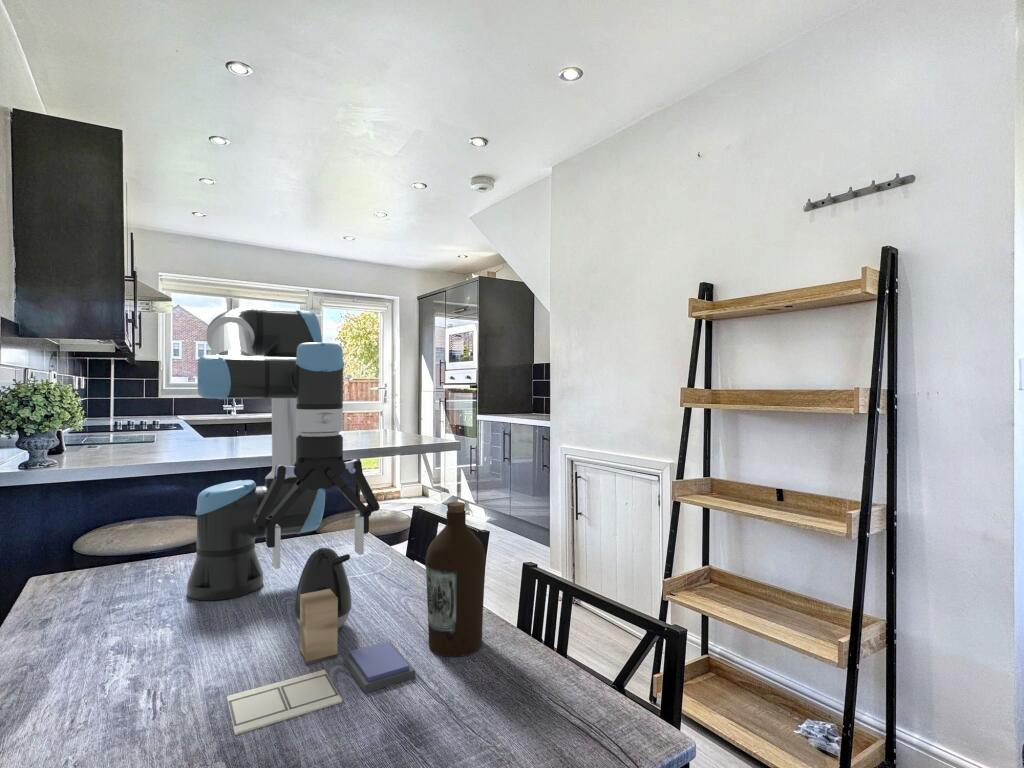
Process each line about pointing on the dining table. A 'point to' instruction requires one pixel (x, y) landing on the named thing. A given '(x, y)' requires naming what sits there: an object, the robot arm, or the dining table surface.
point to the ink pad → (378, 666)
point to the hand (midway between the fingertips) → (319, 559)
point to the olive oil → (455, 587)
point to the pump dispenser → (325, 580)
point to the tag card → (281, 701)
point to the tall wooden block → (318, 626)
